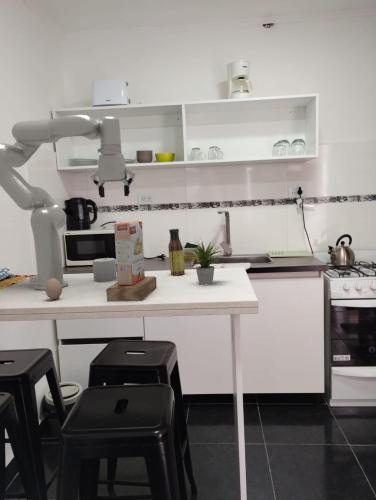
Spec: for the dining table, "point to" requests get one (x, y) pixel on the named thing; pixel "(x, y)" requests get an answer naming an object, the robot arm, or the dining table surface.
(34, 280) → the robot arm
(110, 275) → the grey mug
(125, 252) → the cracker box
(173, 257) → the sauce bottle
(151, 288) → the riser
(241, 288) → the dining table surface
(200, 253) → the house plant
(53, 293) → the egg
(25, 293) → the dining table surface
